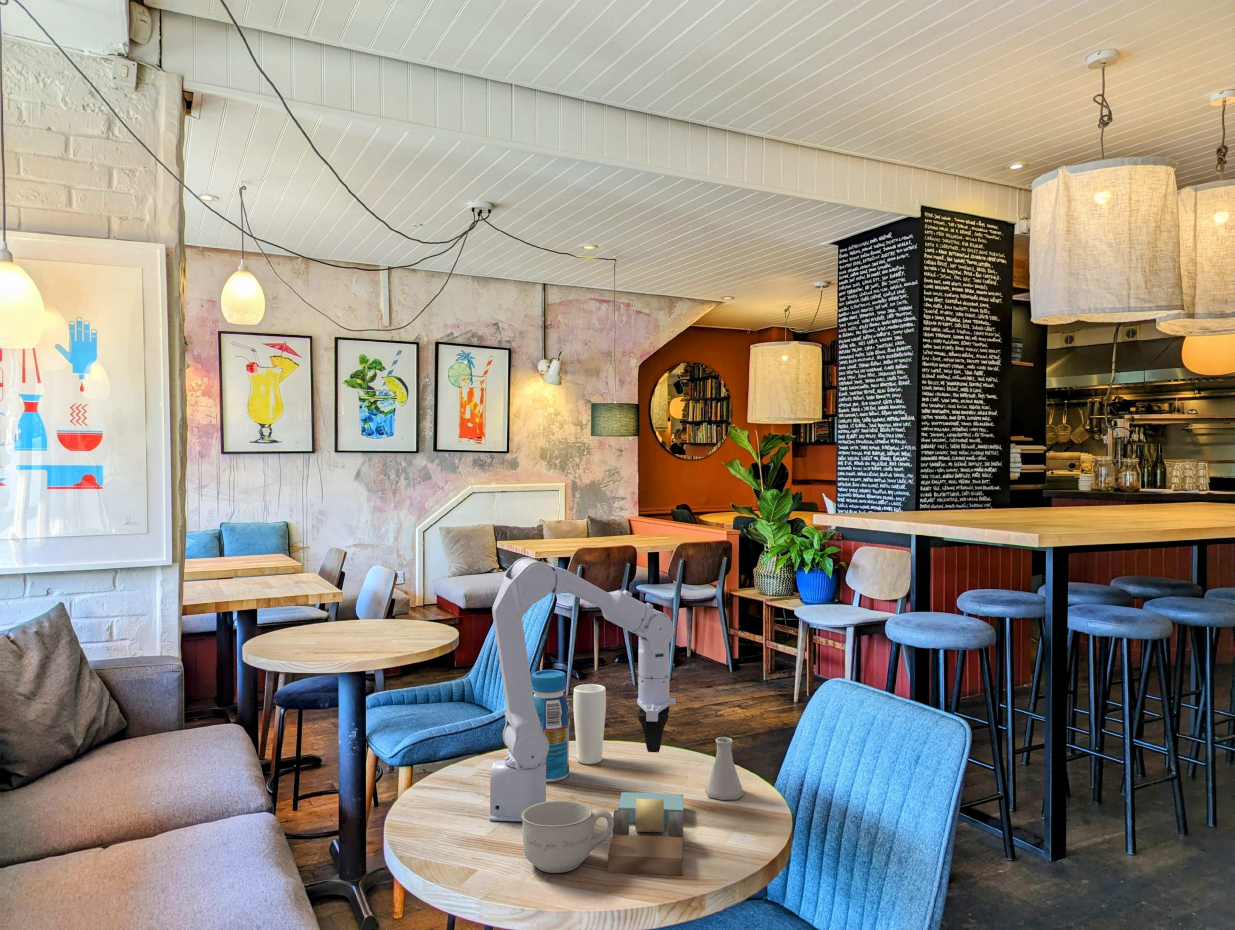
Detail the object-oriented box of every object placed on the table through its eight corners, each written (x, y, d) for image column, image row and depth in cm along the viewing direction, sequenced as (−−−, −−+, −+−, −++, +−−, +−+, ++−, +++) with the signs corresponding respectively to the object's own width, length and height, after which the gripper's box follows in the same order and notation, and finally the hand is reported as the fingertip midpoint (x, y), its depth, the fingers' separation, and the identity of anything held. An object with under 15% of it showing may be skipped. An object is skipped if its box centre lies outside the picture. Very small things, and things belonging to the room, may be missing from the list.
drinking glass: (612, 759, 169) (612, 686, 169) (593, 768, 163) (594, 693, 164) (585, 753, 173) (585, 682, 173) (566, 762, 167) (566, 689, 167)
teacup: (515, 880, 118) (516, 825, 118) (527, 846, 129) (527, 795, 129) (611, 883, 118) (611, 827, 118) (615, 848, 128) (615, 797, 128)
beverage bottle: (519, 780, 157) (519, 676, 157) (538, 765, 165) (538, 666, 165) (559, 786, 154) (559, 680, 155) (576, 771, 162) (577, 670, 162)
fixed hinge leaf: (608, 872, 121) (608, 838, 121) (615, 835, 133) (615, 804, 133) (682, 875, 120) (682, 841, 120) (682, 838, 132) (683, 807, 132)
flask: (743, 803, 146) (742, 747, 147) (702, 799, 148) (702, 744, 148) (744, 788, 154) (744, 734, 154) (706, 785, 155) (706, 732, 155)
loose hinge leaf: (615, 835, 133) (615, 804, 133) (621, 806, 145) (621, 778, 145) (682, 838, 132) (682, 807, 132) (683, 808, 144) (683, 780, 144)
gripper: (674, 686, 143) (674, 763, 142) (676, 666, 157) (676, 737, 157) (634, 685, 143) (634, 762, 143) (639, 666, 158) (639, 736, 157)
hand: (653, 749), depth 150 cm, fingers closed
